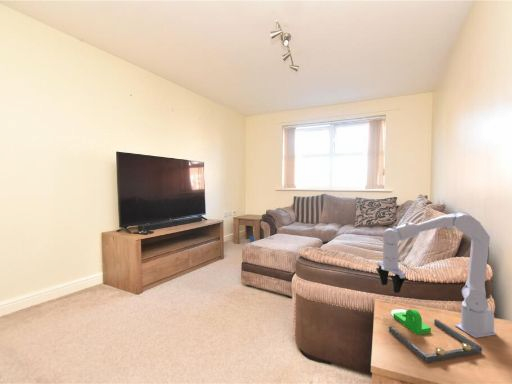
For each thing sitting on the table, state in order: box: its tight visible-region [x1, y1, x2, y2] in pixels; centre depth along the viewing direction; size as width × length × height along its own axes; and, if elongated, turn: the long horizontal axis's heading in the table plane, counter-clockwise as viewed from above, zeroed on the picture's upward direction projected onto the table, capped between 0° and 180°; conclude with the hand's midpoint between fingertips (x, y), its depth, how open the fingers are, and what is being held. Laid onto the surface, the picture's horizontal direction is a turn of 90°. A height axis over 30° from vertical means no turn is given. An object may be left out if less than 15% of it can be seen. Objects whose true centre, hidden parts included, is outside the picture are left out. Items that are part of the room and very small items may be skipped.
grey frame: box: [388, 318, 483, 364], centre depth 90 cm, size 21×18×3 cm
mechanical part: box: [392, 308, 432, 336], centre depth 101 cm, size 12×6×8 cm, turn 12°
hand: (390, 288), depth 110 cm, fingers open, 7 cm apart
